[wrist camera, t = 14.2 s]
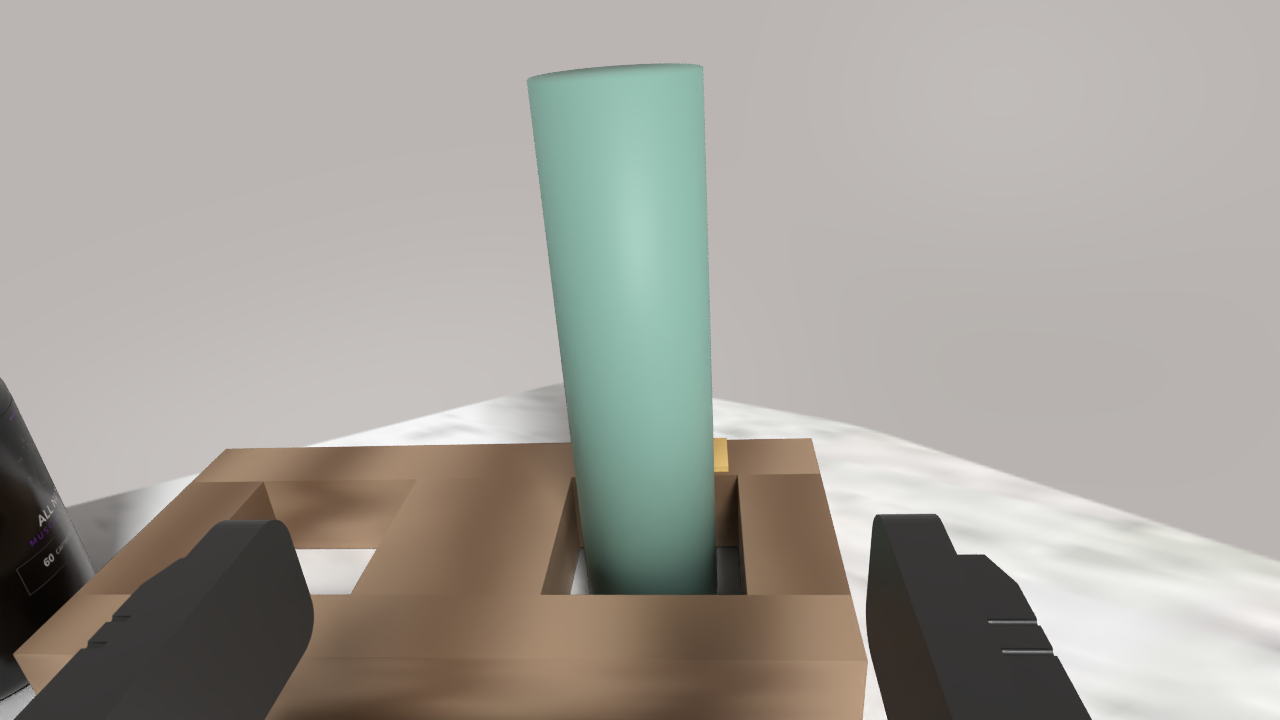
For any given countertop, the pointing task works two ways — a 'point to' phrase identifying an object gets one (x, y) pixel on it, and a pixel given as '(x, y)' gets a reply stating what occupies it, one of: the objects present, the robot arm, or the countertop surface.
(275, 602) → the robot arm
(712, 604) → the hole board
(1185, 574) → the countertop surface
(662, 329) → the peg
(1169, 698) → the countertop surface
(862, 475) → the countertop surface
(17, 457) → the supplement bottle
